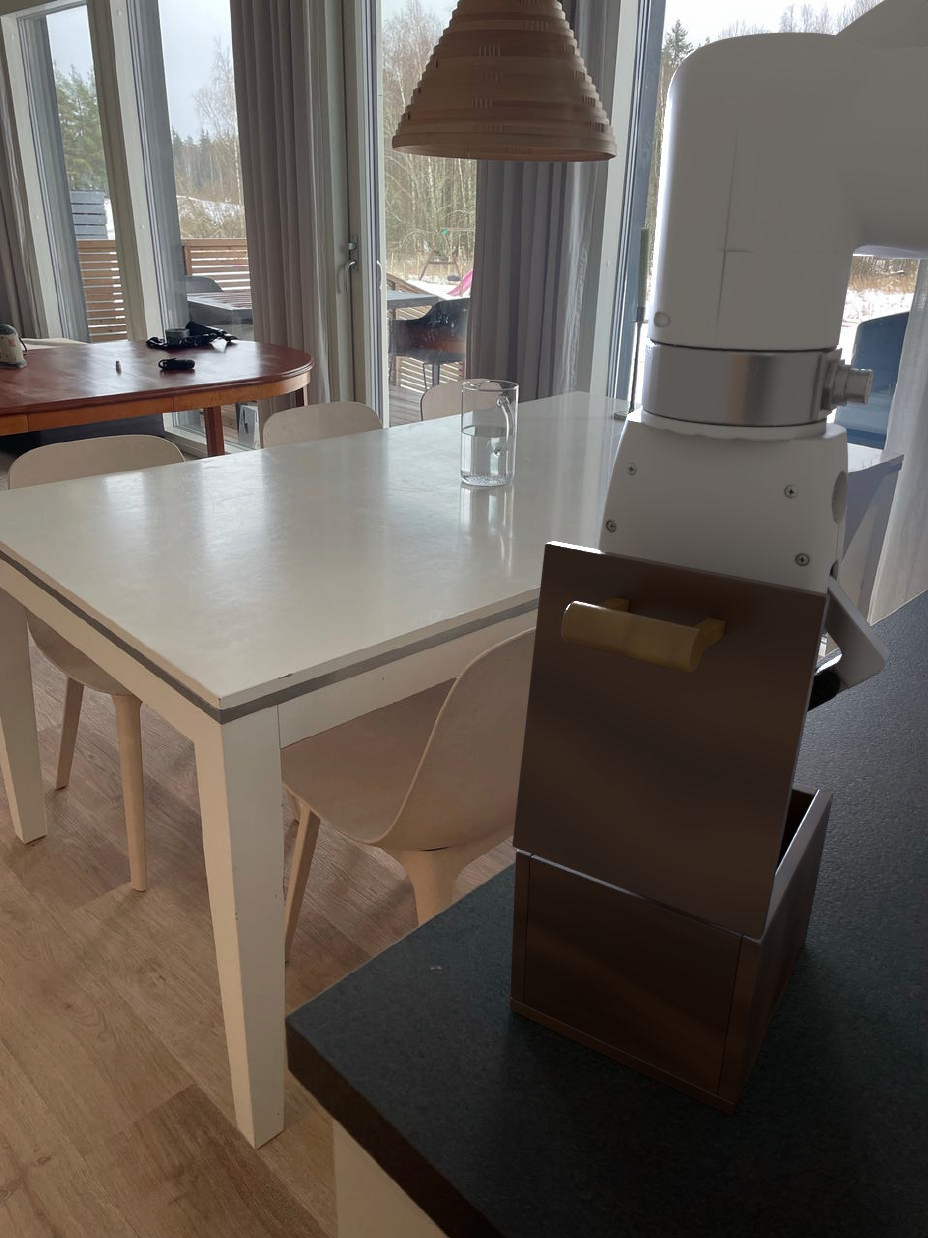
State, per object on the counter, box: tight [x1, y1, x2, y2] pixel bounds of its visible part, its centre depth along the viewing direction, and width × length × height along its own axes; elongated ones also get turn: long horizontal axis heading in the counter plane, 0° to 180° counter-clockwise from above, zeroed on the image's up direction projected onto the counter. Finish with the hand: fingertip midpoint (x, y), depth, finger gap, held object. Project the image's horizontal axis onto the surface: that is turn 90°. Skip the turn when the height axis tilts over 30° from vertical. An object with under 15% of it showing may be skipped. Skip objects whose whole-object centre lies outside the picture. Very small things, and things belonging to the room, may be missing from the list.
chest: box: [509, 781, 834, 1117], centre depth 48 cm, size 14×12×10 cm
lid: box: [511, 541, 830, 940], centre depth 37 cm, size 14×12×5 cm
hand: (690, 762), depth 45 cm, fingers closed on beverage cup, 6 cm apart
